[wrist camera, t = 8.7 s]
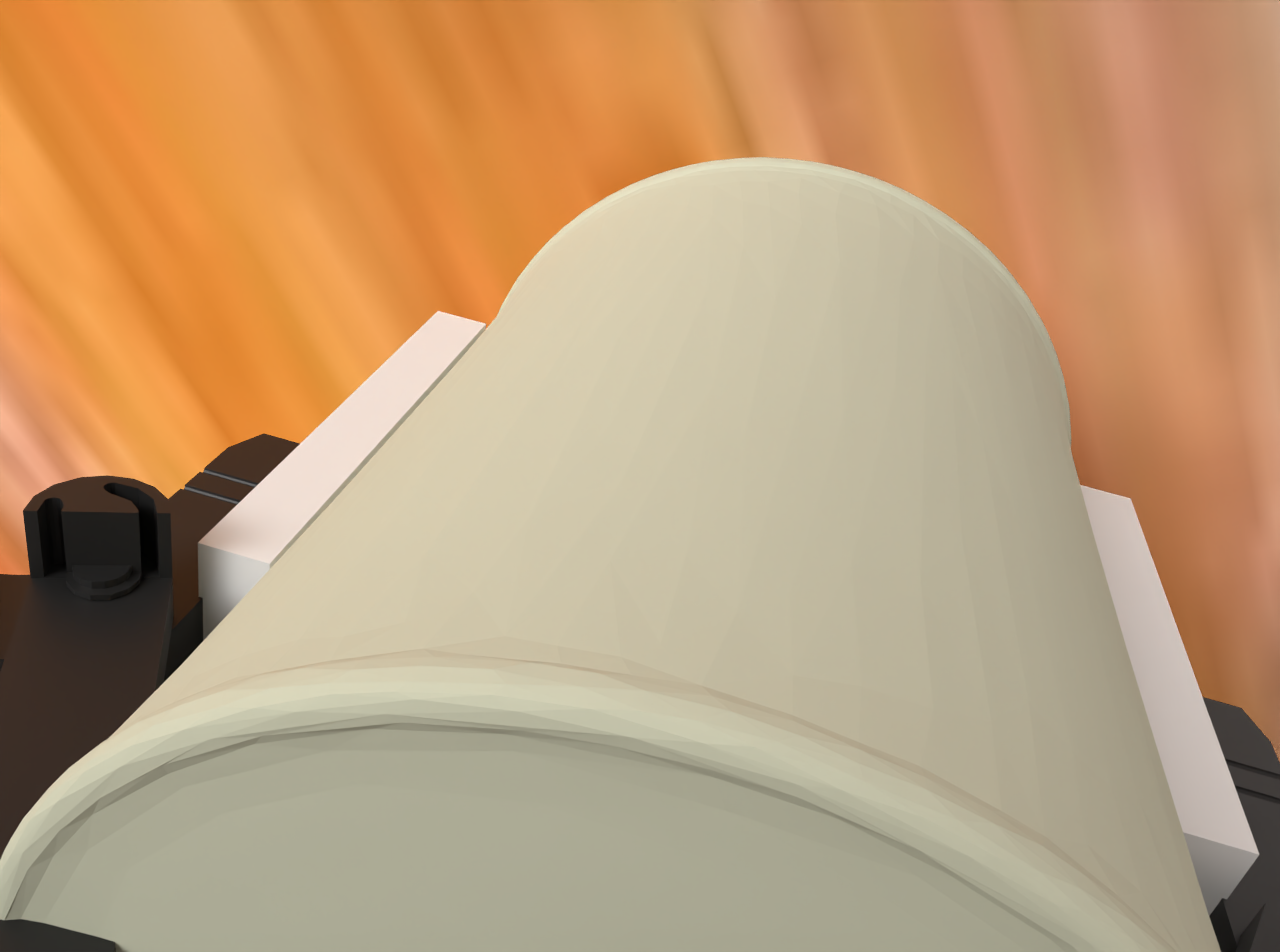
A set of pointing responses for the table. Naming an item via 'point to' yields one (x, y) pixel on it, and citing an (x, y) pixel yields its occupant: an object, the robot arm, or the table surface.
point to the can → (669, 634)
